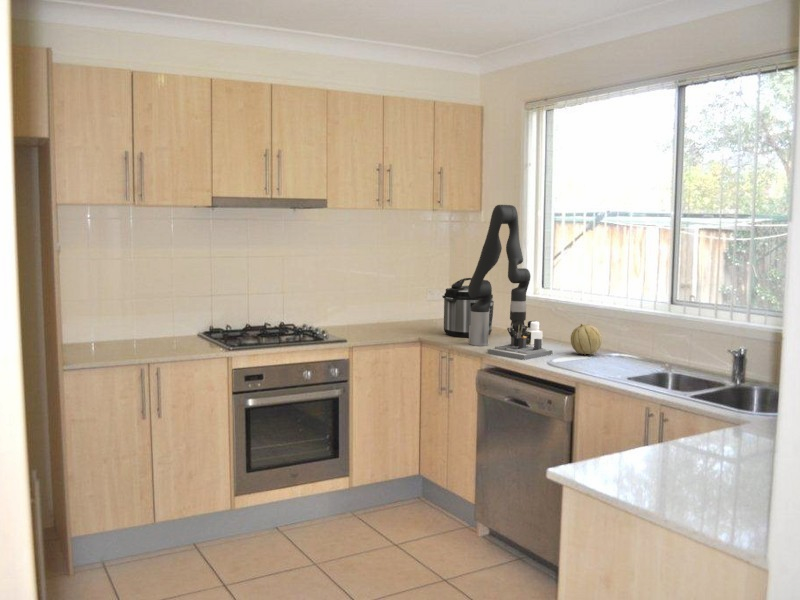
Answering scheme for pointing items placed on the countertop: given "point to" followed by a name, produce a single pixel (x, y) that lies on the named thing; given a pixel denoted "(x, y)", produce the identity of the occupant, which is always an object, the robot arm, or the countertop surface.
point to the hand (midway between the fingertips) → (516, 346)
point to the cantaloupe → (586, 339)
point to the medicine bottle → (533, 332)
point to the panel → (518, 352)
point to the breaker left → (512, 341)
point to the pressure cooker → (460, 309)
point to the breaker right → (537, 344)
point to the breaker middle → (522, 342)
